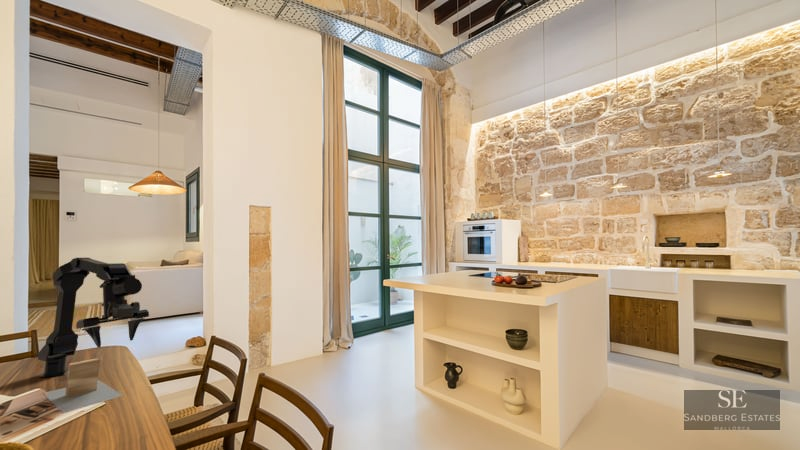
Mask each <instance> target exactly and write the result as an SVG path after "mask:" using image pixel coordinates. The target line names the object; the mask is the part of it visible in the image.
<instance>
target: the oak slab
mask: <svg viewBox="0 0 800 450" xmlns="http://www.w3.org/2000/svg"><path fill="white" fill-rule="evenodd" d="M100 362H101V360H100V359H99V358H92V359H91V358H90V359H88V360H80V361H78V362H77V361H75V362H71V363H69V364H68V367H67V368H68V371H67V377H66V387H65V388H66V394H65V396H66V397H67V398H69V397H73V396H77V395H81V394H85V393H89V392H92V391H96V390H97V382H98V380H99V372H100V371H99V370H100Z"/></svg>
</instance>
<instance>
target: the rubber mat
mask: <svg viewBox="0 0 800 450" xmlns="http://www.w3.org/2000/svg"><path fill="white" fill-rule="evenodd" d="M46 393H47V396H45V398H47V399H48V400H49V401H50V402H51V403H52V405H54V406H55V407H56V408H57V409H59V411H60V412H61V413H62V414H64V413H68V412H72V411H75V410H78V409H82V408H85V407H89V406H93V405H96V404H99V403H102V402H106V401H110V400H114V399H117V398H121V397H123V396H124V395H123V394H121V393H120V392H118V391H117V390H116V389H114V388H112V387H110V386H109V385H108V384H106V383H105V382H103V381H102V380H100V379H98V382H97V390H96V391H92V392H89V393H85V394H81V395H77V396H73V397H69V398H67V397H66V396H65V394H66V387H63V388H57V389H54V390H50V391H46Z"/></svg>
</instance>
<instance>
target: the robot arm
mask: <svg viewBox="0 0 800 450" xmlns="http://www.w3.org/2000/svg"><path fill="white" fill-rule="evenodd" d="M90 273H92V274H95V277H97V278H98V279H99V280H101V281H103V282H102V283H101V284H100V285H99V289H102V300H103V301H102V302H103V303H101V307H103V315H101V317H99V316H95V317H88V318H82V319H79V320H77V321H76V324H75V327H76V328H75V329H76V330H78V329H81V331H85V332H86V333H87V335H89V337H90V338H91V339H92V341H93V343H94V344H95V345H96V348H99V349H100V348H102V347H101V345H102V340H101V333H100V332H101V327H102V326H101V325H99V324H105V323H111V322H117V321H123V320H129V321H127V322H128V323H127V325H128V326H127V327H128V338H129V341H134V338H135V336H136V335H135V334H136V332H137V330H138V327H139V326H140V324H141V323H142V321H145V320H146V318H149V317H150V311H149V310H148V309H141V306H140V304H141V303H140V302H139V301H133V302H131V303H129V304H128V300H127V299H126V297H128V296H132V295H136V294H138V293H140V291H141V290H142V289H143V284H142V282H141V280H139V278H136V274H133V273H131V271H130V269H129V268H128V266H127V265H126V264H125V263H119V262H118V263H107V262H104V261H100V260H96V259H93V258H91V257H75V258H72V259H71V260H70V261H69V262H67V263H64V264H63V265H60V266H59V267H58V268H56V270H55V271H54V272H53V273H52V280H53V283H52V284H53V286H54V287H55V289H56V290H57V291H58V293H57V303H56V309H55V310H56V311H55V319H54V327H53V330H52V331H51V333H50V334H49V335H48V337H46V340H45V344H44V345H43V347H42V348H41V349H40V350H39V351H38V353H37V360H38V361H43V362H44V367H43V368H44V369H43V373H42V374H40V375H39V379H40V378H42V379H43V378H49V377H58V376H64V375H65V374H66V373H68V367H67V360H68V356H74V355H75V353H76V351H77V347H78V344H79V343H78V339H79V334H78V333H76V332H75V331H74V330H73V324H74V323H73V322H74V316H75V315H74V314H75V307H76V298H77V292H78V290H79V289H80V288H81V287H82V286H83V285H84V281H85V279H86V278H87V277H88V275H90ZM140 309H141V310H140Z"/></svg>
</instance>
